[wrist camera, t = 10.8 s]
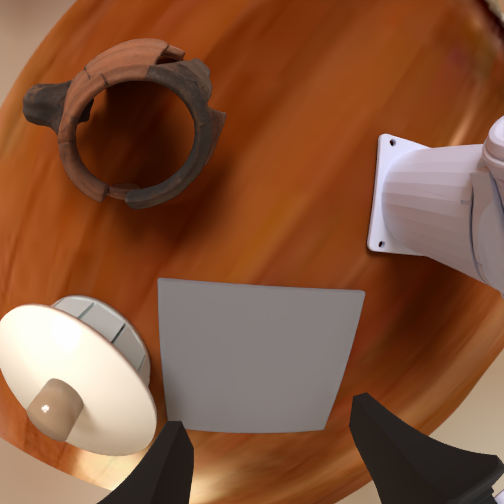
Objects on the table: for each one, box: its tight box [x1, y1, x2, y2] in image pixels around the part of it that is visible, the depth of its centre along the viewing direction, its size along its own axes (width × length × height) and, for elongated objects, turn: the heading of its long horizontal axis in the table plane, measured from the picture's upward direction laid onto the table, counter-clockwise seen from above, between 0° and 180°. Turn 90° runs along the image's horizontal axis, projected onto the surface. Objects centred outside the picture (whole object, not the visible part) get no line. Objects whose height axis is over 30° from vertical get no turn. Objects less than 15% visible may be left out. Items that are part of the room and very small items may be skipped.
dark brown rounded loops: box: [23, 39, 226, 210], centre depth 13 cm, size 12×10×8 cm
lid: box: [0, 303, 157, 456], centre depth 12 cm, size 13×13×4 cm
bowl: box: [51, 295, 151, 387], centre depth 17 cm, size 10×10×5 cm
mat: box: [158, 278, 365, 433], centre depth 20 cm, size 14×14×1 cm
